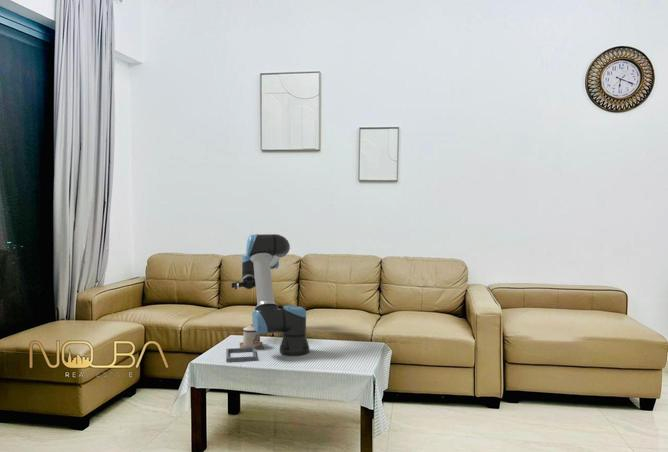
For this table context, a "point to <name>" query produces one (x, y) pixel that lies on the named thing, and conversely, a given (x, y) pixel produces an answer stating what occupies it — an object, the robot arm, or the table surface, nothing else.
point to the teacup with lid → (251, 336)
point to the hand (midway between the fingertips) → (250, 287)
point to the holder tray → (235, 359)
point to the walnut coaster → (254, 347)
